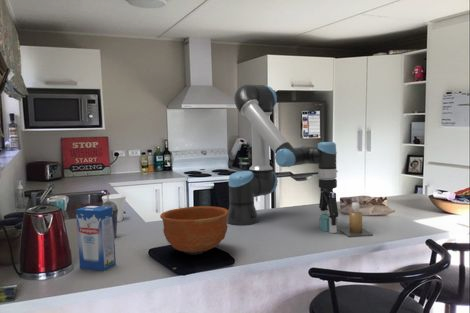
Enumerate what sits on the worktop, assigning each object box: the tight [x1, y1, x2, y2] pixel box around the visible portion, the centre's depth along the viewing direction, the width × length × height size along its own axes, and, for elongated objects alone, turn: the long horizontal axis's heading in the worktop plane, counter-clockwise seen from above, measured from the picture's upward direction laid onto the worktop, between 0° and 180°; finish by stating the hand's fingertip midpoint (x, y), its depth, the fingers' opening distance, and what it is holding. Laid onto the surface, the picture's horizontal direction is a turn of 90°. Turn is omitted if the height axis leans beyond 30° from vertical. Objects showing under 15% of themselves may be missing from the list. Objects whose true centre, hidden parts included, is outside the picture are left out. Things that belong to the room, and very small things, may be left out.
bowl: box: [159, 205, 229, 253], centre depth 146 cm, size 25×25×15 cm
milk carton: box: [75, 205, 117, 272], centre depth 135 cm, size 10×6×20 cm, turn 69°
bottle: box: [339, 201, 374, 238], centre depth 164 cm, size 10×10×13 cm
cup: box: [101, 193, 127, 223], centre depth 202 cm, size 12×12×12 cm
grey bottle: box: [101, 190, 118, 239], centre depth 170 cm, size 7×7×20 cm
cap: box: [319, 213, 338, 233], centre depth 172 cm, size 7×7×6 cm
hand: (328, 228), depth 172 cm, fingers open, 11 cm apart
